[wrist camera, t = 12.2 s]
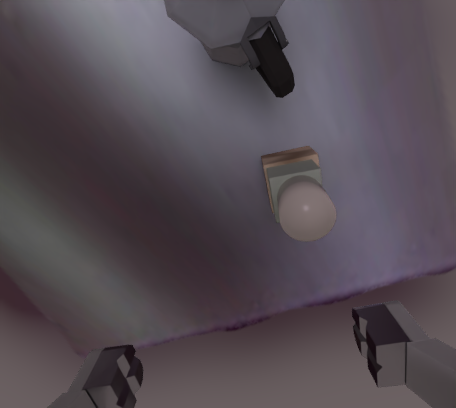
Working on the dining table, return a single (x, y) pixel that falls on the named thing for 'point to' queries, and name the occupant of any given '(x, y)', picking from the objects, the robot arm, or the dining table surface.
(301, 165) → the tower top
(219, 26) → the coffee maker
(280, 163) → the tower base
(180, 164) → the dining table surface
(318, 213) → the grey rounded cylinder
